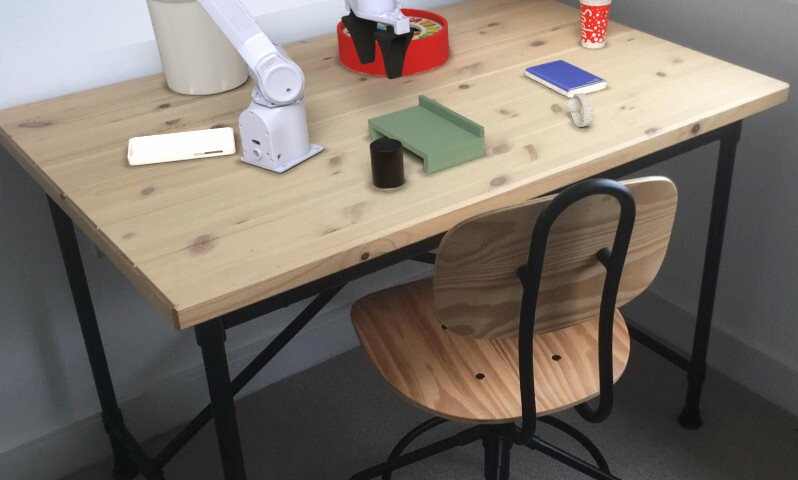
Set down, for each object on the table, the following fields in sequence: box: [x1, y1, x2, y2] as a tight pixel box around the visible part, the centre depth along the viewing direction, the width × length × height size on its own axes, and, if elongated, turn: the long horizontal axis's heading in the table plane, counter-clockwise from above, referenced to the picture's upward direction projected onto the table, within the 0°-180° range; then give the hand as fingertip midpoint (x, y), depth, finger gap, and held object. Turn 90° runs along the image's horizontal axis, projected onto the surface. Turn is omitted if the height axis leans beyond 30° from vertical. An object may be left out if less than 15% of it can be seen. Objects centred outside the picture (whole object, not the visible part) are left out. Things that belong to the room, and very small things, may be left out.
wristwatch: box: [566, 93, 593, 128], centre depth 149 cm, size 3×5×5 cm, turn 21°
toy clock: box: [336, 7, 450, 77], centre depth 175 cm, size 20×6×20 cm
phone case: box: [127, 126, 237, 166], centre depth 143 cm, size 7×1×15 cm
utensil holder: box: [145, 0, 249, 96], centre depth 161 cm, size 15×15×18 cm
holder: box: [369, 137, 406, 193], centre depth 132 cm, size 5×5×6 cm
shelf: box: [367, 94, 486, 175], centre depth 143 cm, size 10×16×4 cm, turn 38°
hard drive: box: [524, 59, 607, 99], centre depth 166 cm, size 2×8×12 cm
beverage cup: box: [578, 0, 613, 50], centre depth 178 cm, size 6×6×14 cm
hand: (380, 70), depth 142 cm, fingers open, 7 cm apart
